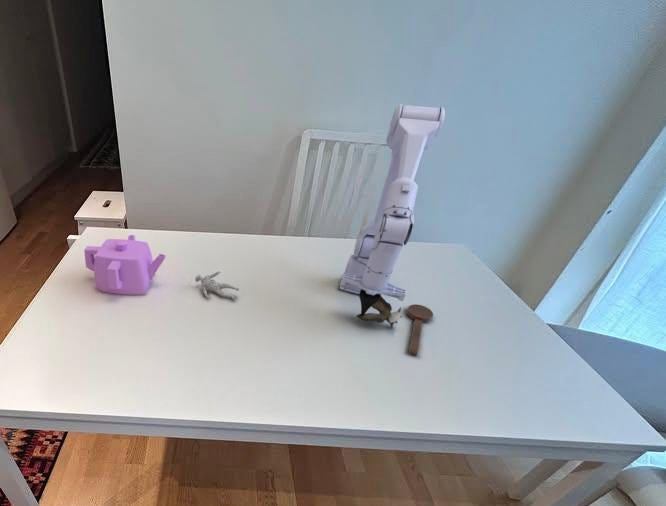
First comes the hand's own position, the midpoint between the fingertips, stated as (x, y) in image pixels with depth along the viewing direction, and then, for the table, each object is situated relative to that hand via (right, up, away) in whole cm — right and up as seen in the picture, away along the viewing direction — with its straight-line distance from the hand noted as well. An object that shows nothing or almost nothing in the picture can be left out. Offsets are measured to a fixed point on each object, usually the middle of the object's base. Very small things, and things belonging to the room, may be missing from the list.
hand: (362, 315), depth 97 cm
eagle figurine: (+3, -2, 0) cm, 4 cm away
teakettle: (-61, +10, +11) cm, 63 cm away
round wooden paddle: (+13, -4, -2) cm, 13 cm away
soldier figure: (-37, +7, +8) cm, 38 cm away
